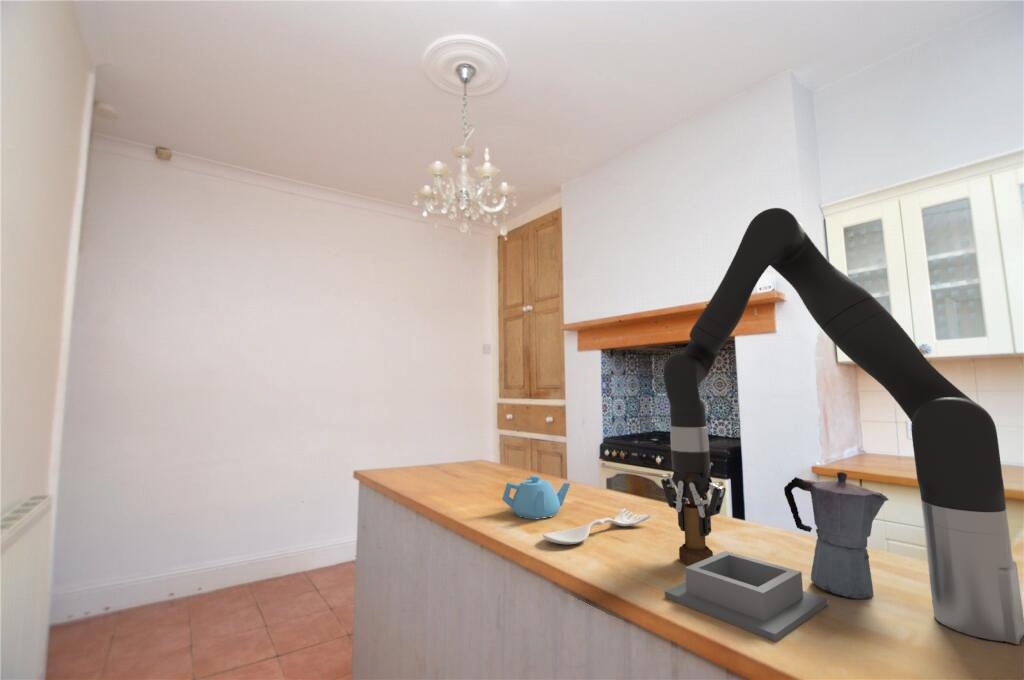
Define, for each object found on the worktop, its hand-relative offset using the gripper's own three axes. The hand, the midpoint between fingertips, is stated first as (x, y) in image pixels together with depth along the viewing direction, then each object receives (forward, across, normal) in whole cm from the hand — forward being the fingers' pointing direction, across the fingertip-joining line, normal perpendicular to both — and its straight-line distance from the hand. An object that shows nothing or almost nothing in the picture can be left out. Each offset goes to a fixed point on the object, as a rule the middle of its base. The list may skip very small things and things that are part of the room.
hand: (694, 532), depth 96 cm
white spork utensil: (+6, +26, +2) cm, 27 cm away
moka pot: (+6, -23, -7) cm, 25 cm away
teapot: (+6, +50, +1) cm, 50 cm away
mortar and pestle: (+6, 0, 0) cm, 6 cm away
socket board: (+6, -15, +10) cm, 19 cm away
